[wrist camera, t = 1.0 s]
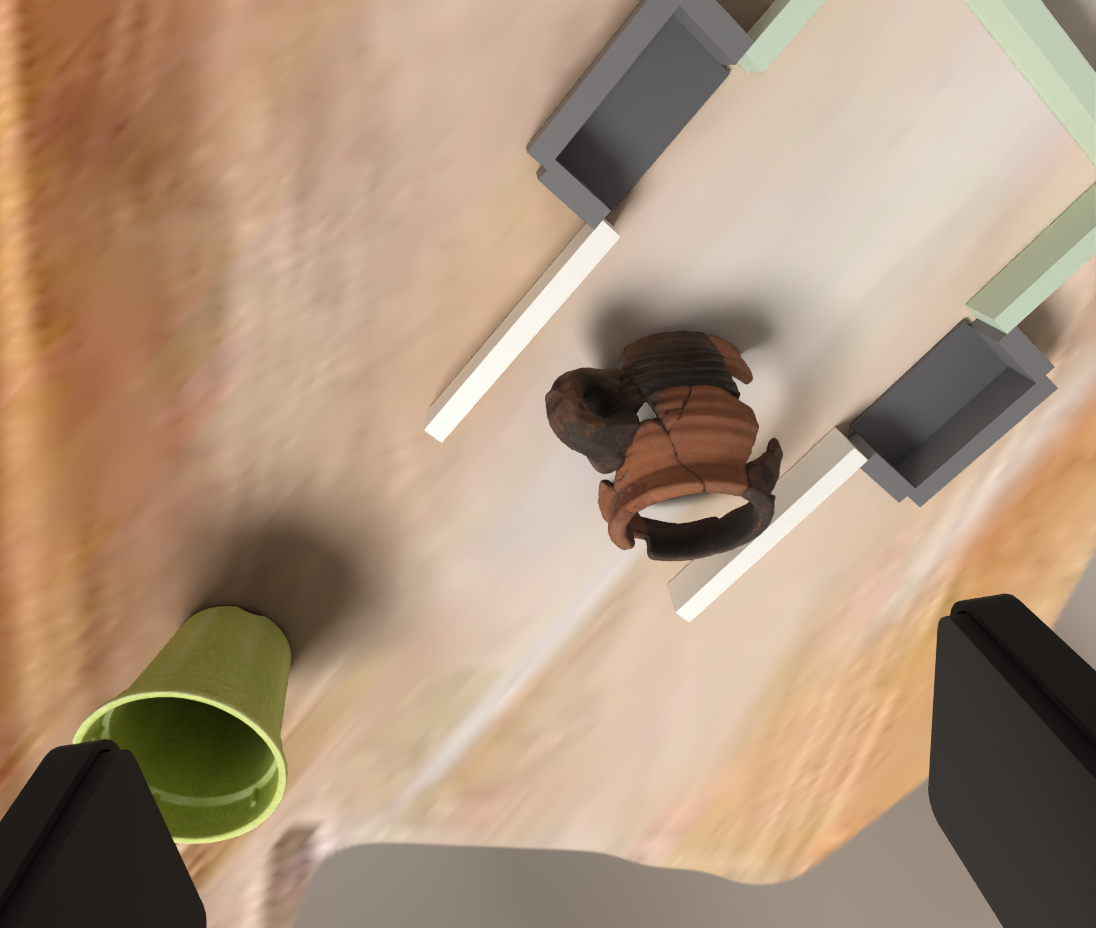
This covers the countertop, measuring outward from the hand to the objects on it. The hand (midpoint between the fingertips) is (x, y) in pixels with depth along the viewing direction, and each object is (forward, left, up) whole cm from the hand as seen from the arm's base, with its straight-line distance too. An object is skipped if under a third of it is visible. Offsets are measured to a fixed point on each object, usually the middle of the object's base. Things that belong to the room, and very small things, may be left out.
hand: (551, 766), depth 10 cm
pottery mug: (+2, +10, -30) cm, 32 cm away
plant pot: (+26, +2, -30) cm, 40 cm away
